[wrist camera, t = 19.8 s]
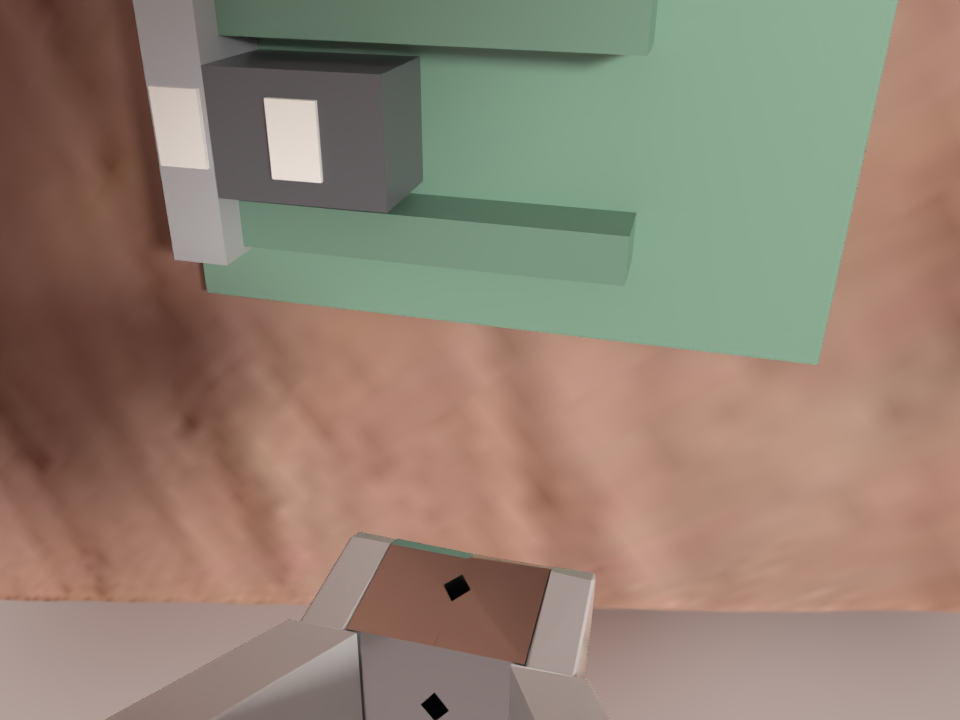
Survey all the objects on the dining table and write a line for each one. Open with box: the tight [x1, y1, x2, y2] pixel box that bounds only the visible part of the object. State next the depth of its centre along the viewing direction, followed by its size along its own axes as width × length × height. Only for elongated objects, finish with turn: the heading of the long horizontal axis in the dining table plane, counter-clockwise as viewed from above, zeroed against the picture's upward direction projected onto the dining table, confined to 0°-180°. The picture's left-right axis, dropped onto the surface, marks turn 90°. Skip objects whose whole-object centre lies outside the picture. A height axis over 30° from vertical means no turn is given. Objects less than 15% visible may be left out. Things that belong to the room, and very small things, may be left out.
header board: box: [133, 0, 898, 365], centre depth 33 cm, size 28×18×6 cm, turn 89°
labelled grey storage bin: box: [201, 49, 423, 213], centre depth 34 cm, size 7×5×5 cm
